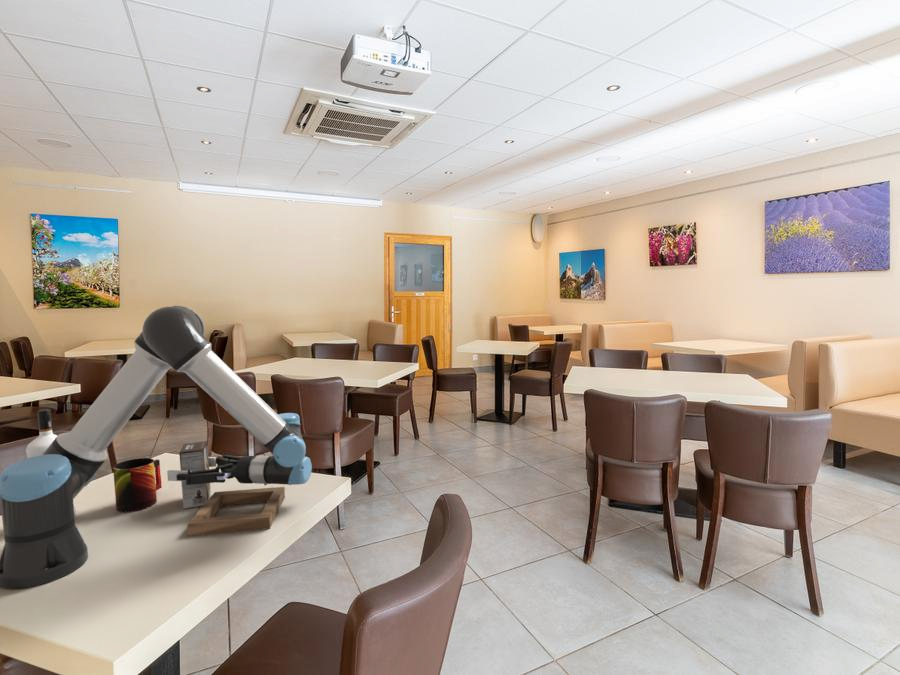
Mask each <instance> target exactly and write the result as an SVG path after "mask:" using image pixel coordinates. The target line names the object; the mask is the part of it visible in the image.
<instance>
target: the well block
mask: <svg viewBox="0 0 900 675" xmlns="http://www.w3.org/2000/svg"><path fill="white" fill-rule="evenodd" d="M285 498H286V488H285V486H277V487H264V488H252V489H240V490H237V489H236V490H225V491H224V490H222V491H214V492H213V494H212V495H210V498H209V500H208V501H207V502H206V503H205V504H204V505H203V506H201V508H200V509H199V510H198V511H197V512H196V513H195V514H194V516H193V517H192V518H191V519H190V521H189V522H188V523H187V532H188V533H187V534H188V535H192V536H201V535H202V534H204V535H214V534H213V533H215V534H224V533H225V532H227V533H235V532H238V533H239V532H248V531H258V530H259V531H261V530H270V529H271V527H272V525H273V523H274V521H275V519H276V517H277V515H278V513H279V511H280V509H281V507H280V506H282V505H283V502H284V500H285ZM267 501H268V502H267ZM253 503H266V504H265V505H264V508H263V510H262V511H261V513H254V514H253V513H252V514H241V515H239V514H237V515H228V516H217V517H215V516H216V514H217V513H218V511H219V510H220V509H221V507H223V506H229V505H239V504H240V505H243V504H253ZM279 508H280V509H279ZM216 512H217V513H216ZM213 516H214V517H213Z"/></svg>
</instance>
